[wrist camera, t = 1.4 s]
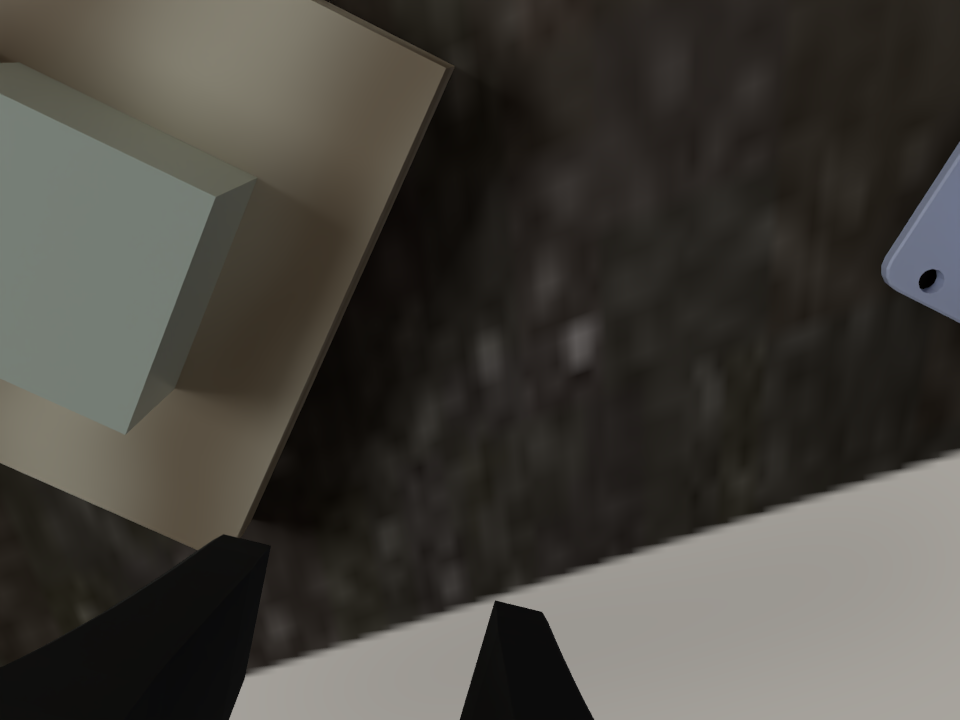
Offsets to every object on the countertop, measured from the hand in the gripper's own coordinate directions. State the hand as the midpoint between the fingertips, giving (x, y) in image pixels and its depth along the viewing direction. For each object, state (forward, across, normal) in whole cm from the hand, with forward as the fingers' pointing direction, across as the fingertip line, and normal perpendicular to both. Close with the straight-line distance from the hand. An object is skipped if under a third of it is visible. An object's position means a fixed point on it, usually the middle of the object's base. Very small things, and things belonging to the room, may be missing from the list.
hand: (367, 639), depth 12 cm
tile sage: (+8, +7, -2) cm, 11 cm away
